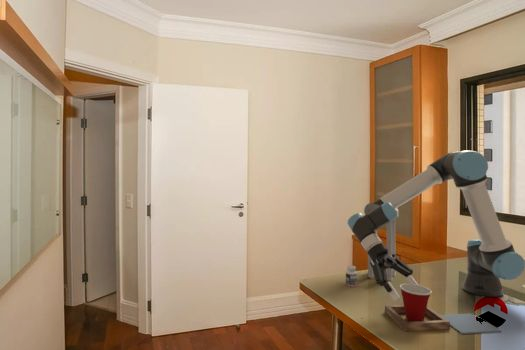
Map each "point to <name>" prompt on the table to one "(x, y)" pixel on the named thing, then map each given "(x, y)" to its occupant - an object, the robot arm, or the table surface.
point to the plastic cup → (415, 301)
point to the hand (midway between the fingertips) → (408, 295)
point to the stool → (390, 246)
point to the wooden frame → (418, 325)
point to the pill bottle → (351, 276)
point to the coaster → (469, 324)
